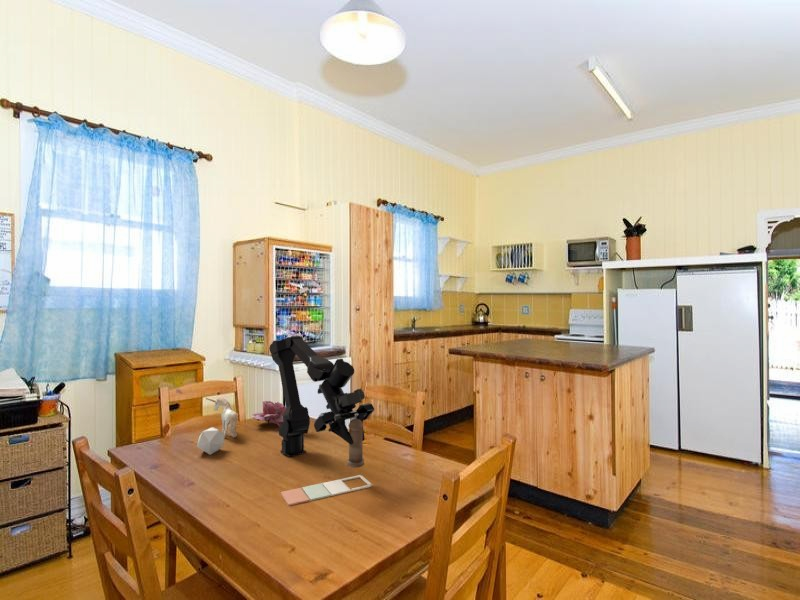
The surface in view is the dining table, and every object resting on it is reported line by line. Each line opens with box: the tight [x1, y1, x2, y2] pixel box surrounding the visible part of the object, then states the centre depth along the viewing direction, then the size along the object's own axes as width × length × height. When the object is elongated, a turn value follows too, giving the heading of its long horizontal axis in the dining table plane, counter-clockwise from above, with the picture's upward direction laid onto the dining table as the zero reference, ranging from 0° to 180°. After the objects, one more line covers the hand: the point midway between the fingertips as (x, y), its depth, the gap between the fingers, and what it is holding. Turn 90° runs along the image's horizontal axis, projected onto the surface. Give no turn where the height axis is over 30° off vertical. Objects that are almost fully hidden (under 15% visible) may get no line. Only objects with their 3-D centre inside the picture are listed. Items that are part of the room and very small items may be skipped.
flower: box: [252, 400, 286, 428], centre depth 180 cm, size 15×15×10 cm
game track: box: [280, 474, 374, 507], centre depth 120 cm, size 24×8×1 cm, turn 119°
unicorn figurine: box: [205, 397, 238, 439], centre depth 167 cm, size 7×20×13 cm, turn 51°
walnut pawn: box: [346, 419, 365, 469], centre depth 124 cm, size 5×5×13 cm
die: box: [196, 426, 225, 456], centre depth 149 cm, size 8×9×10 cm
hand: (357, 442), depth 123 cm, fingers closed on walnut pawn, 4 cm apart
